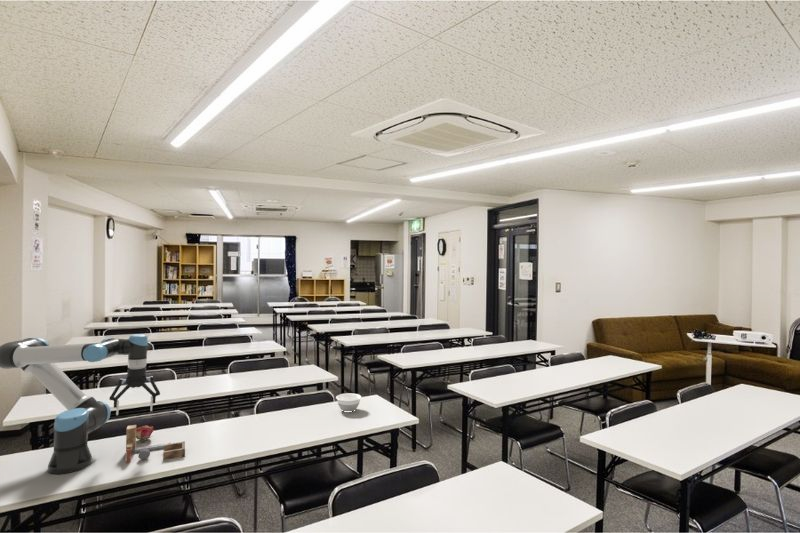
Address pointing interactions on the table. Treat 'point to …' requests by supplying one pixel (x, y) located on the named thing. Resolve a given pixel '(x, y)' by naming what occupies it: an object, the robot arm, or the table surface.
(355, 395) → the bowl
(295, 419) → the table surface
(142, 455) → the ball
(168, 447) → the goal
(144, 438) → the flower
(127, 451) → the tan and red block
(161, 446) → the rail
